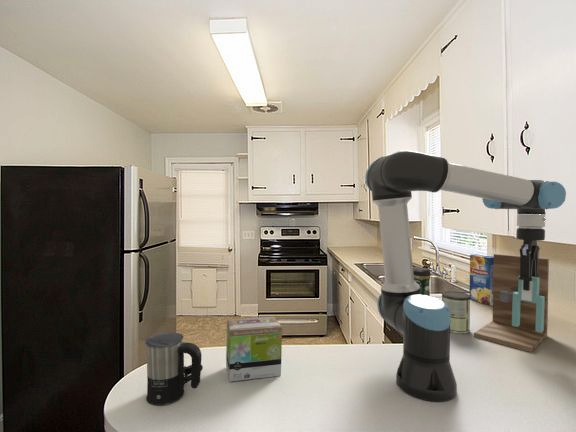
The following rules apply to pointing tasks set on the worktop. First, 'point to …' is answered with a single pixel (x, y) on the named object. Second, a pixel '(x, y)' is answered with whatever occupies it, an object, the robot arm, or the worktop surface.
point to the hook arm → (507, 295)
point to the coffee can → (458, 310)
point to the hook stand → (501, 326)
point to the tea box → (253, 348)
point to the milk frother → (170, 367)
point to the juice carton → (481, 278)
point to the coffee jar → (422, 279)
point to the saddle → (535, 299)
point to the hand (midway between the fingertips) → (528, 299)
